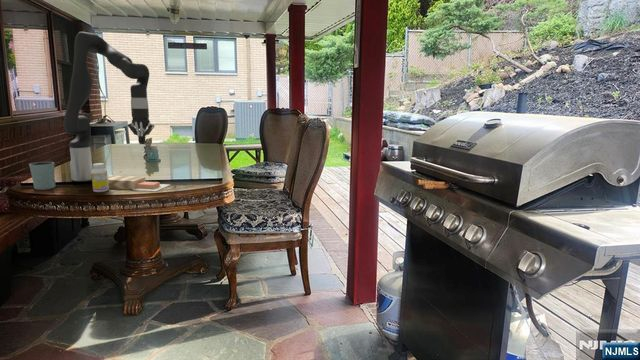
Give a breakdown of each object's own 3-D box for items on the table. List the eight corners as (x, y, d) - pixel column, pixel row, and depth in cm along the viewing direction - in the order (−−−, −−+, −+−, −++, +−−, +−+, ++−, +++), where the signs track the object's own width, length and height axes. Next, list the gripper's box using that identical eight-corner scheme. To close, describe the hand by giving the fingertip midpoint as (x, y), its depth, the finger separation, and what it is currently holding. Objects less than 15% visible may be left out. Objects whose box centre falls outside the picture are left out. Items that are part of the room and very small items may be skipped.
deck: (96, 187, 205) (95, 179, 204) (109, 182, 215) (108, 175, 214) (133, 189, 202) (133, 181, 201) (145, 184, 211) (145, 177, 211)
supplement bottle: (96, 189, 201) (94, 162, 198) (111, 189, 202) (108, 162, 199) (90, 192, 195) (87, 165, 192) (105, 192, 195) (102, 165, 192)
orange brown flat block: (136, 188, 203) (135, 184, 203) (143, 185, 209) (142, 181, 208) (153, 188, 202) (153, 184, 201) (159, 186, 207) (159, 182, 207)
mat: (132, 190, 200) (132, 189, 200) (148, 184, 213) (148, 183, 213) (155, 191, 198) (155, 190, 198) (170, 185, 211) (170, 184, 211)
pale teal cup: (38, 191, 196) (35, 165, 193) (28, 188, 201) (24, 163, 199) (61, 187, 204) (58, 162, 202) (50, 184, 210) (47, 160, 207)
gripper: (122, 107, 195) (124, 144, 199) (148, 108, 193) (150, 145, 197) (131, 106, 203) (134, 142, 206) (157, 107, 201) (159, 143, 204)
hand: (142, 144), depth 202 cm, fingers closed
